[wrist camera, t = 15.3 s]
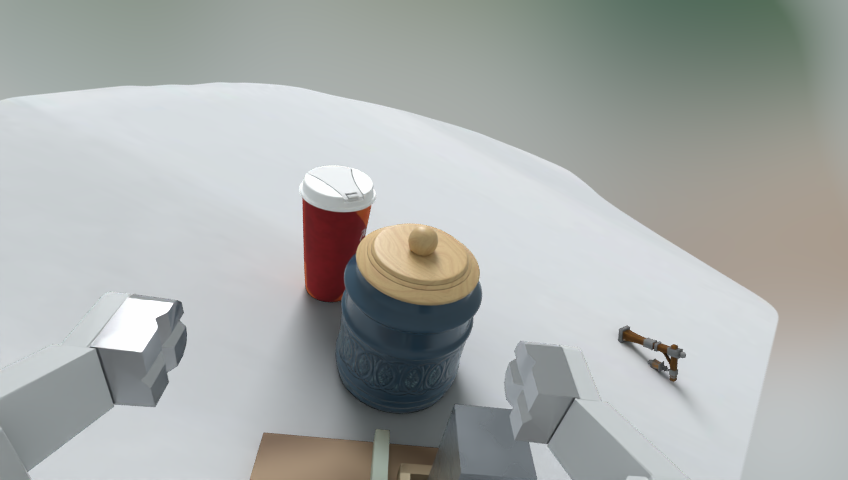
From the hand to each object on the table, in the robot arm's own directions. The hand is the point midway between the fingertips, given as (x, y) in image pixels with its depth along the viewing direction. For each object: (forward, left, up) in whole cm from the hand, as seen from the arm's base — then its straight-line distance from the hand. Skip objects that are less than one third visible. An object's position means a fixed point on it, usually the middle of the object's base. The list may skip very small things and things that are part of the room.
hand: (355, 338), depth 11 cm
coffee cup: (+15, +33, -30) cm, 47 cm away
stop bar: (+12, +2, -29) cm, 31 cm away
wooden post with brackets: (+46, +8, -30) cm, 56 cm away
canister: (+17, +19, -30) cm, 39 cm away
